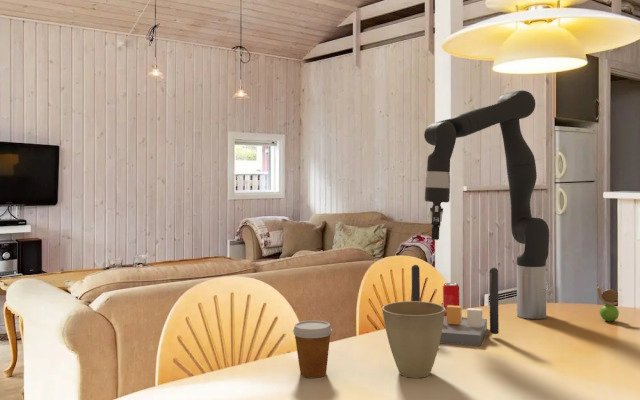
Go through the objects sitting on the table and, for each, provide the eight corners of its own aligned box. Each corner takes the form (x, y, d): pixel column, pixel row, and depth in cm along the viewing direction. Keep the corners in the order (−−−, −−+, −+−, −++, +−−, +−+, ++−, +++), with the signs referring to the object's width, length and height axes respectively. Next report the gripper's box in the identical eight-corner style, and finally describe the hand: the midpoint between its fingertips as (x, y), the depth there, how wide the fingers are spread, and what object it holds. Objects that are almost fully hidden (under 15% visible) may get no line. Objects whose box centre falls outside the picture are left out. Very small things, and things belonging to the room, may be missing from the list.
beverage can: (440, 319, 192) (439, 283, 192) (452, 317, 194) (452, 282, 194) (450, 323, 188) (449, 286, 187) (462, 321, 190) (462, 284, 189)
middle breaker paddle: (461, 322, 174) (461, 306, 174) (460, 324, 172) (460, 307, 171) (448, 321, 175) (447, 305, 175) (446, 323, 173) (446, 306, 173)
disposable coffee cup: (319, 383, 134) (318, 331, 134) (285, 376, 139) (284, 326, 139) (340, 371, 142) (339, 322, 142) (307, 365, 147) (306, 318, 147)
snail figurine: (598, 318, 190) (598, 281, 190) (620, 320, 187) (619, 283, 186) (595, 321, 186) (594, 284, 186) (617, 324, 182) (617, 286, 182)
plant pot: (381, 363, 147) (380, 301, 147) (439, 363, 147) (439, 300, 146) (385, 384, 132) (384, 315, 132) (451, 383, 132) (450, 314, 131)
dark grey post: (498, 332, 170) (498, 267, 169) (498, 334, 168) (497, 268, 167) (490, 331, 171) (489, 266, 170) (489, 333, 169) (489, 268, 168)
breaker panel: (487, 328, 180) (486, 302, 179) (480, 346, 161) (479, 317, 161) (432, 324, 186) (431, 299, 186) (419, 341, 167) (419, 313, 167)
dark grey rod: (420, 326, 178) (420, 264, 178) (419, 328, 176) (418, 265, 176) (413, 325, 179) (412, 264, 179) (411, 327, 177) (410, 265, 176)
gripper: (450, 186, 172) (448, 241, 172) (449, 187, 186) (447, 238, 186) (424, 185, 174) (422, 239, 174) (425, 186, 188) (423, 236, 188)
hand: (435, 238), depth 180 cm, fingers open, 8 cm apart
